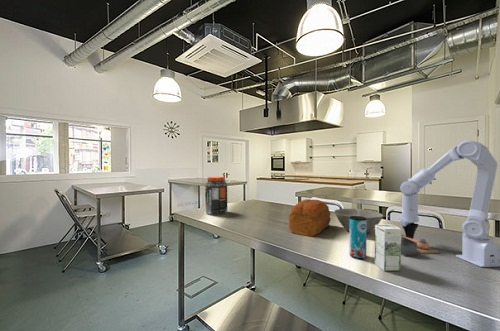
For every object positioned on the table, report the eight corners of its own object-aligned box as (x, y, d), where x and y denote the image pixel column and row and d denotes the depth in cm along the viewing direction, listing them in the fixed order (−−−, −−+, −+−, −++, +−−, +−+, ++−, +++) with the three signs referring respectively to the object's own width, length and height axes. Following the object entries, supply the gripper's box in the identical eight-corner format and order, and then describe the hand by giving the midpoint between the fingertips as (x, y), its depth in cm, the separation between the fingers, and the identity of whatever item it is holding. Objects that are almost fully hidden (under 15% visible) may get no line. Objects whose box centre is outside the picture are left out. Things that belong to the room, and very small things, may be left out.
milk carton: (390, 263, 83) (390, 223, 83) (401, 271, 77) (401, 228, 77) (374, 264, 83) (374, 223, 83) (384, 272, 77) (384, 228, 77)
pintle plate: (438, 253, 93) (438, 251, 93) (421, 253, 92) (421, 251, 92) (424, 246, 100) (424, 244, 99) (408, 247, 99) (408, 245, 99)
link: (431, 248, 95) (431, 240, 95) (425, 249, 93) (425, 242, 93) (396, 238, 107) (396, 231, 107) (390, 239, 105) (390, 232, 105)
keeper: (416, 255, 90) (416, 242, 90) (404, 256, 90) (404, 243, 90) (402, 248, 98) (402, 236, 98) (391, 248, 97) (391, 236, 97)
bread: (332, 225, 134) (332, 198, 134) (316, 238, 112) (316, 205, 112) (305, 221, 143) (305, 195, 143) (286, 232, 121) (286, 202, 121)
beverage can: (356, 260, 86) (357, 220, 86) (346, 254, 92) (346, 216, 91) (370, 258, 88) (370, 218, 87) (358, 252, 93) (358, 215, 93)
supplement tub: (212, 210, 178) (212, 176, 177) (231, 211, 171) (231, 176, 171) (200, 214, 163) (200, 177, 163) (220, 216, 157) (220, 177, 156)
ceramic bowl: (390, 239, 109) (390, 218, 108) (338, 236, 113) (338, 216, 113) (374, 226, 130) (374, 209, 130) (331, 224, 135) (331, 207, 135)
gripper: (406, 205, 109) (406, 234, 110) (392, 209, 101) (392, 240, 101) (424, 207, 104) (424, 238, 104) (411, 212, 95) (410, 245, 95)
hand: (409, 239), depth 102 cm, fingers closed, pressing on link
